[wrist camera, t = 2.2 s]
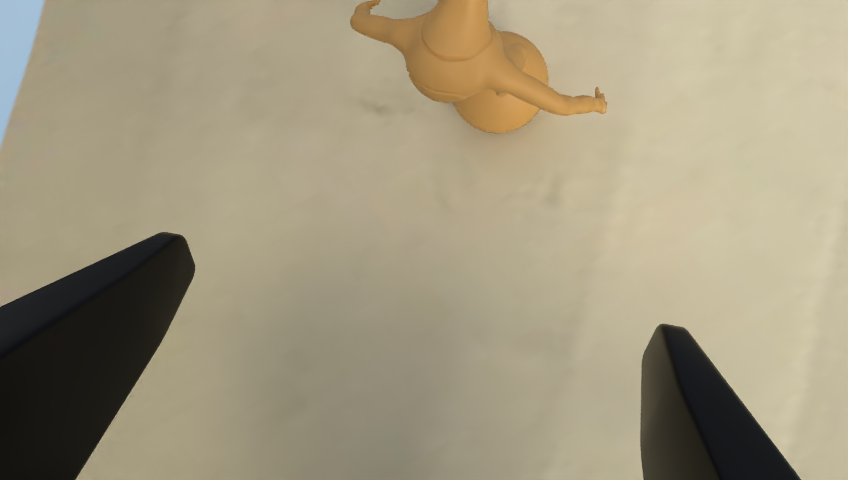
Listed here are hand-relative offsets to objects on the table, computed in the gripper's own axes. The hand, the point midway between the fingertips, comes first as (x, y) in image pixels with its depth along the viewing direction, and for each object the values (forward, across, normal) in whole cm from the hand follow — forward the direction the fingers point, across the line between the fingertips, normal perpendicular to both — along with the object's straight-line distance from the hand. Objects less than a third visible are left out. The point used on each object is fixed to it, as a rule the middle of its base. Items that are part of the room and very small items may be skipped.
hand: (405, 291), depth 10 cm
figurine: (+15, 0, +4) cm, 15 cm away
